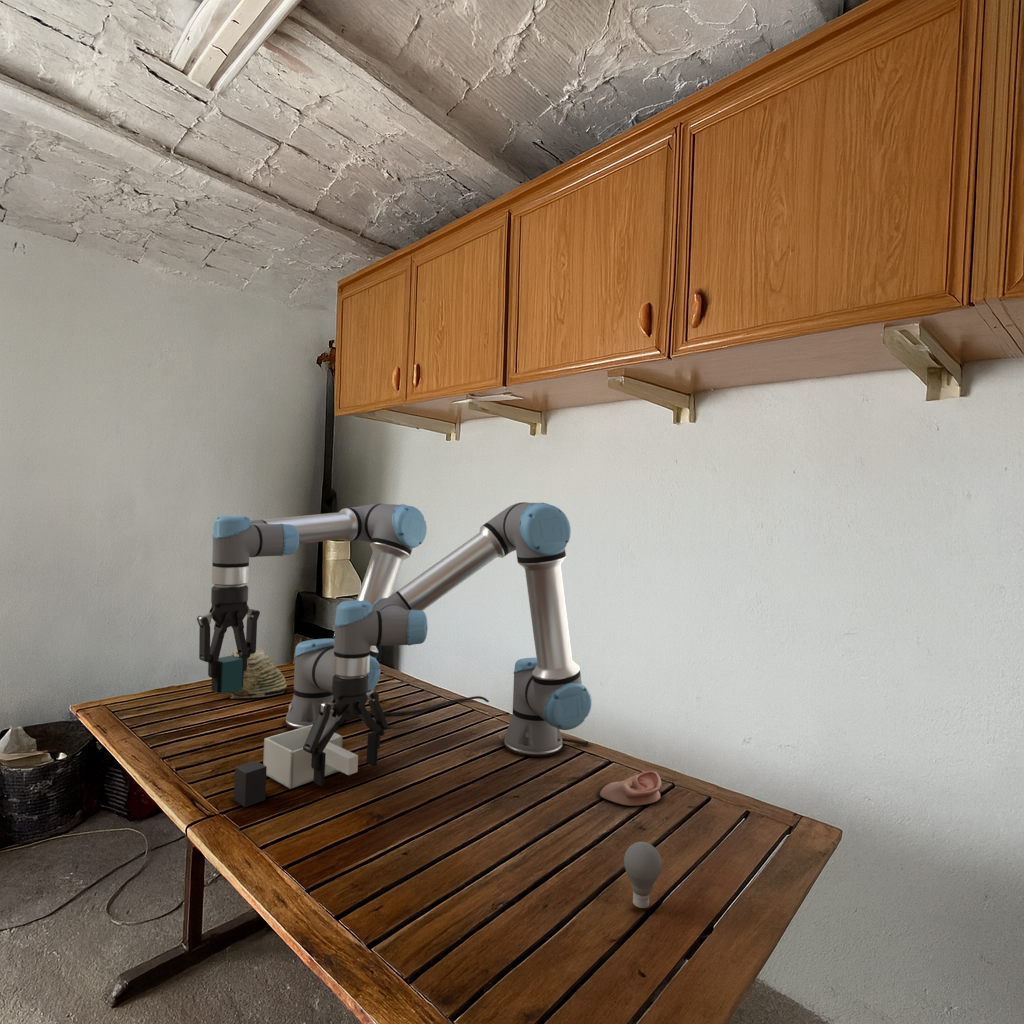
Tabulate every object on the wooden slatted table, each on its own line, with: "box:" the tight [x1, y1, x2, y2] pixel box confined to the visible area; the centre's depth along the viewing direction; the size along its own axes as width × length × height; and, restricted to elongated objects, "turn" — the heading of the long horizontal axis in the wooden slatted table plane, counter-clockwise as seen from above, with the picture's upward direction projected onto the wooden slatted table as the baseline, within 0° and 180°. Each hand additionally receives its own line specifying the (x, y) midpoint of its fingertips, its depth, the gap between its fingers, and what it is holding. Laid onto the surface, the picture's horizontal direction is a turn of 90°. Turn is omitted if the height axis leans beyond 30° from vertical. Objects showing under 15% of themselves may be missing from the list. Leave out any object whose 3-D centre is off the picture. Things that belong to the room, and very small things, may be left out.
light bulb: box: [623, 841, 663, 909], centre depth 102 cm, size 6×6×10 cm
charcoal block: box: [233, 760, 267, 808], centre depth 131 cm, size 4×4×7 cm
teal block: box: [218, 654, 243, 695], centre depth 142 cm, size 4×4×7 cm
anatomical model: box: [599, 770, 662, 806], centre depth 141 cm, size 13×4×12 cm
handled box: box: [262, 725, 359, 790], centre depth 141 cm, size 13×24×9 cm, turn 51°
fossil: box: [229, 647, 288, 699], centre depth 198 cm, size 9×18×15 cm, turn 132°
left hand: (227, 688), depth 142 cm, fingers closed on teal block, 4 cm apart
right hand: (346, 773), depth 135 cm, fingers open, 13 cm apart
